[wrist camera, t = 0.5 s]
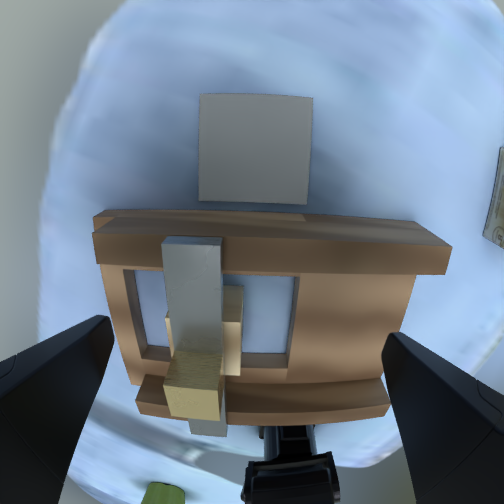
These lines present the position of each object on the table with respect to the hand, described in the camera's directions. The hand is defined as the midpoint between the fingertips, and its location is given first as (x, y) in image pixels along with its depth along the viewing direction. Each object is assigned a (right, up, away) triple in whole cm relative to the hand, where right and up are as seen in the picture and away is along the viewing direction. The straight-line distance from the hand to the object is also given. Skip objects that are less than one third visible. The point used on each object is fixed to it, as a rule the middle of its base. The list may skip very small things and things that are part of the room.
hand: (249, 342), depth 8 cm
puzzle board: (+1, -2, +15) cm, 16 cm away
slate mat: (0, +10, +10) cm, 14 cm away
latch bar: (-3, -4, +10) cm, 11 cm away
